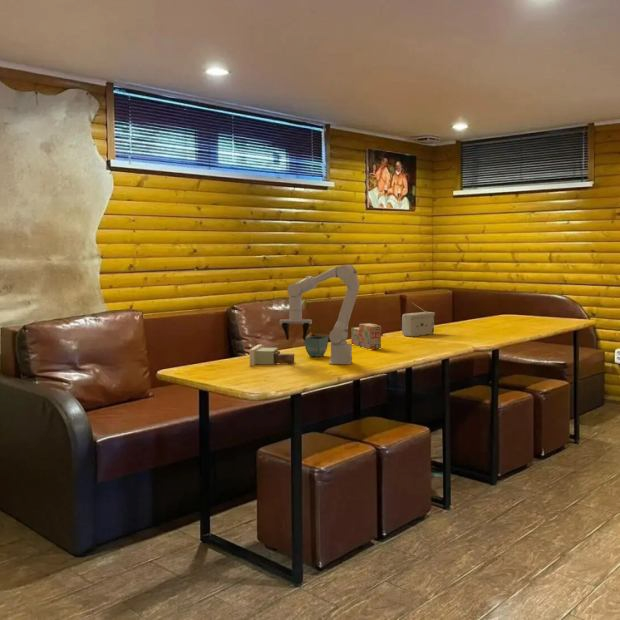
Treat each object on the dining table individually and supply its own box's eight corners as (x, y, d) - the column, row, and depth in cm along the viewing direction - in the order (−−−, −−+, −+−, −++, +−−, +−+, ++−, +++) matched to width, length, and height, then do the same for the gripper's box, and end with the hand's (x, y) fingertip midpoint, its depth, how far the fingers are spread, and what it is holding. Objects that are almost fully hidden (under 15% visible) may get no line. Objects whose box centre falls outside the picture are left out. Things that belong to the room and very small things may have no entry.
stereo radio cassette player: (425, 333, 401) (425, 299, 399) (435, 334, 394) (436, 300, 393) (401, 336, 388) (401, 302, 386) (411, 337, 381) (412, 302, 379)
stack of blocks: (351, 345, 355) (350, 322, 354) (361, 344, 358) (361, 321, 357) (370, 350, 336) (370, 326, 335) (381, 349, 338) (381, 325, 337)
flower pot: (313, 354, 325) (313, 336, 324) (329, 355, 320) (328, 337, 319) (303, 356, 317) (303, 338, 316) (319, 358, 313) (319, 339, 312)
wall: (262, 359, 311) (262, 344, 310) (254, 365, 295) (253, 349, 294) (258, 359, 311) (258, 344, 311) (249, 365, 295) (249, 349, 295)
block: (278, 360, 307) (277, 347, 306) (273, 364, 297) (273, 351, 296) (261, 360, 308) (260, 347, 307) (255, 363, 298) (255, 351, 298)
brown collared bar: (295, 361, 304) (294, 351, 303) (292, 364, 297) (291, 353, 296) (266, 361, 306) (266, 350, 306) (263, 364, 299) (262, 353, 299)
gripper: (312, 309, 306) (313, 338, 307) (281, 309, 308) (282, 338, 309) (310, 310, 299) (310, 340, 300) (278, 310, 301) (279, 340, 302)
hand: (295, 339), depth 304 cm, fingers open, 7 cm apart
